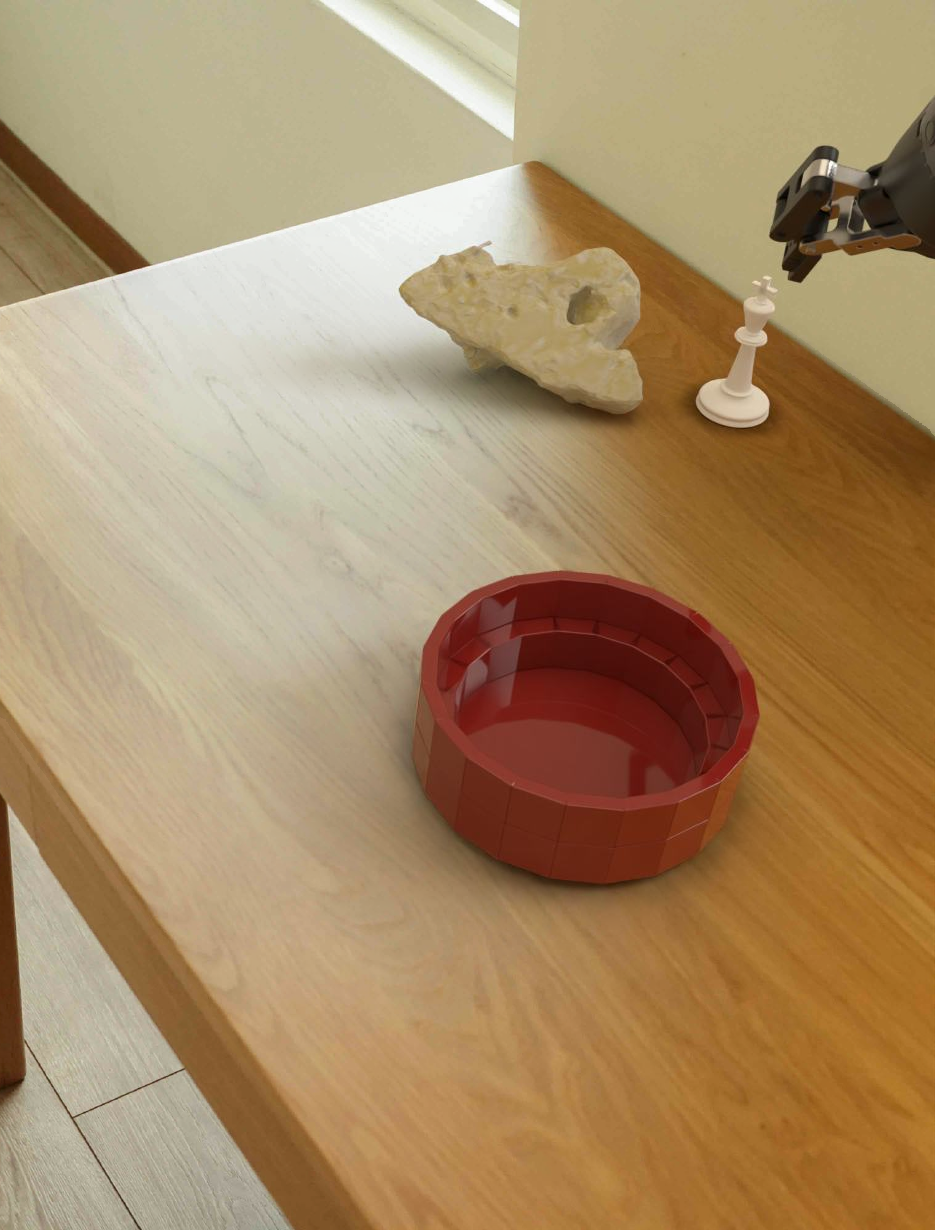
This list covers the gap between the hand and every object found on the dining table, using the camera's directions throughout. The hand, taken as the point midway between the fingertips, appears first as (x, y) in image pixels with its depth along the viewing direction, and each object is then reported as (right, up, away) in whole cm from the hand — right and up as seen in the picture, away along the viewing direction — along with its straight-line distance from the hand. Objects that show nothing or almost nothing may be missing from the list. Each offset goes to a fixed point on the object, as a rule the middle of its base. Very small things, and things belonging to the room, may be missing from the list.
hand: (871, 284), depth 85 cm
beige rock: (-17, -3, +21) cm, 27 cm away
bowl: (-17, -26, -4) cm, 32 cm away
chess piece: (-2, -4, +20) cm, 21 cm away
